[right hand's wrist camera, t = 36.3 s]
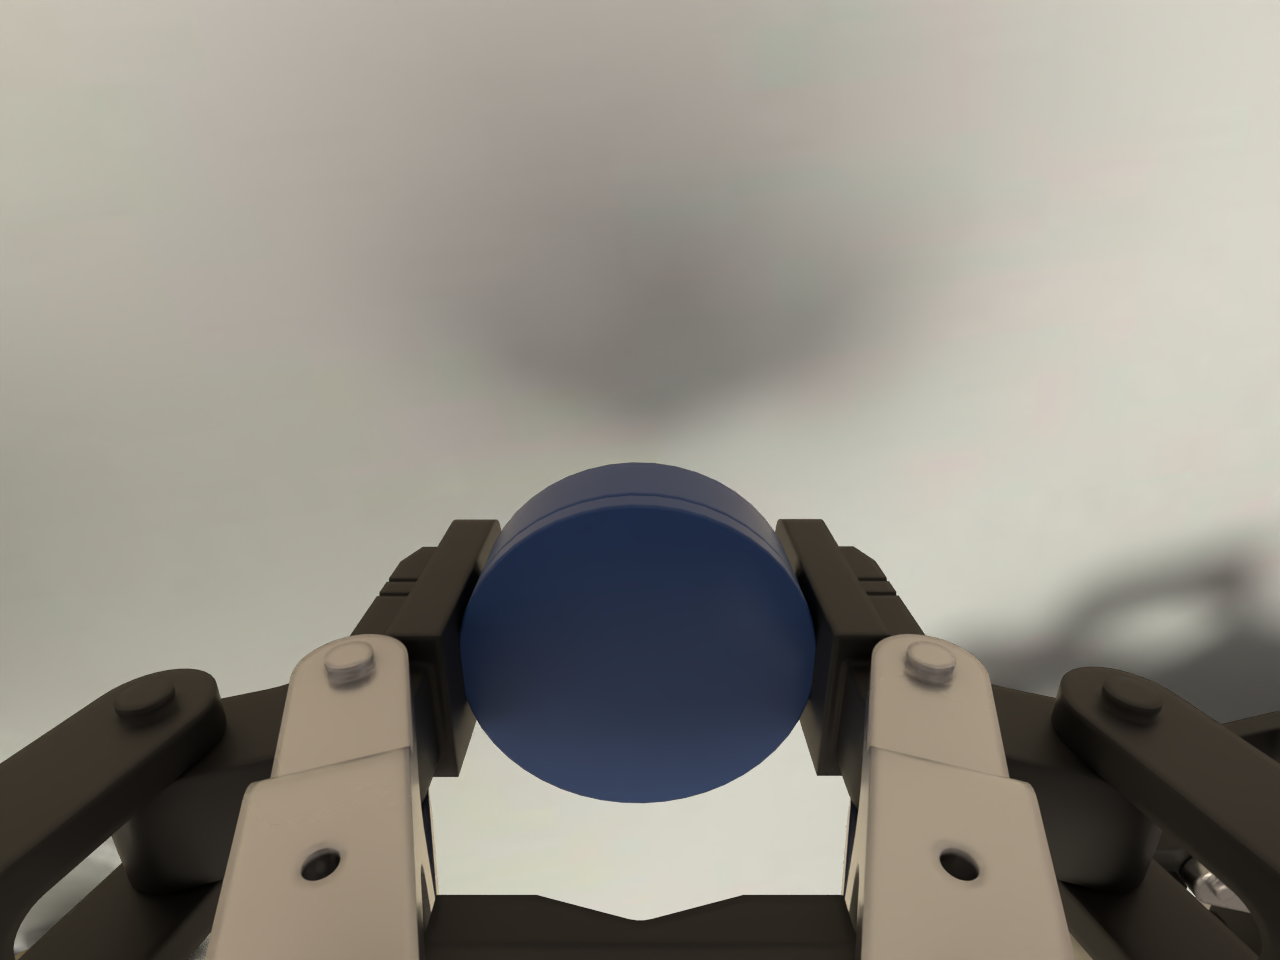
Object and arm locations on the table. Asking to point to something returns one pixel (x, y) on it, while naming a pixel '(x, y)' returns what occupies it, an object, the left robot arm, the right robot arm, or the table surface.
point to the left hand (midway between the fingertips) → (988, 926)
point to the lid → (637, 636)
